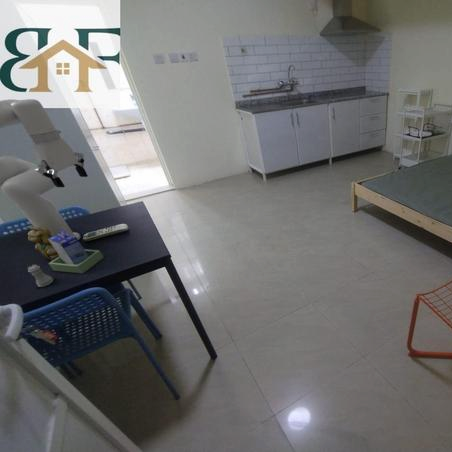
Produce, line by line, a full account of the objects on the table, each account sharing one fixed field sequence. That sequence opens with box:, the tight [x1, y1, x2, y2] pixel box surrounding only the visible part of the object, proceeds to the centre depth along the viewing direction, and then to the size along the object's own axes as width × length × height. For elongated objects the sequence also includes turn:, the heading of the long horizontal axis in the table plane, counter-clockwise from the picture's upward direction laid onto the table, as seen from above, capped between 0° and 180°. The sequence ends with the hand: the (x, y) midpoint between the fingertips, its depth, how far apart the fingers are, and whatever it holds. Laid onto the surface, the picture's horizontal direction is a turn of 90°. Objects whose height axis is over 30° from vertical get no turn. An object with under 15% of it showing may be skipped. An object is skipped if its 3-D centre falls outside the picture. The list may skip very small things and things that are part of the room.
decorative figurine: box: [25, 225, 59, 261], centre depth 113 cm, size 10×8×15 cm
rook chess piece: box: [27, 264, 54, 288], centre depth 100 cm, size 4×4×8 cm
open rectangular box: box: [48, 248, 105, 274], centre depth 110 cm, size 14×10×4 cm
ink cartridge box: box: [48, 229, 89, 265], centre depth 107 cm, size 10×6×14 cm, turn 64°
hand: (73, 181), depth 109 cm, fingers open, 9 cm apart
